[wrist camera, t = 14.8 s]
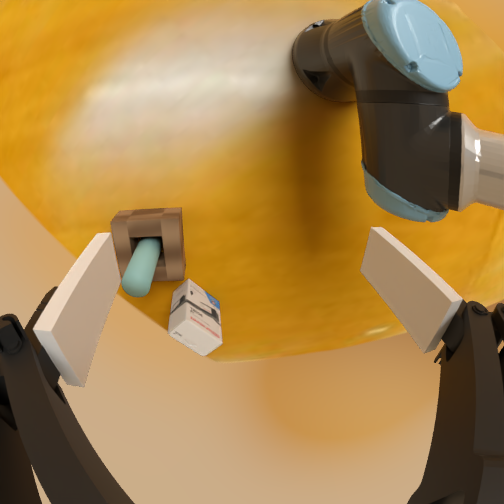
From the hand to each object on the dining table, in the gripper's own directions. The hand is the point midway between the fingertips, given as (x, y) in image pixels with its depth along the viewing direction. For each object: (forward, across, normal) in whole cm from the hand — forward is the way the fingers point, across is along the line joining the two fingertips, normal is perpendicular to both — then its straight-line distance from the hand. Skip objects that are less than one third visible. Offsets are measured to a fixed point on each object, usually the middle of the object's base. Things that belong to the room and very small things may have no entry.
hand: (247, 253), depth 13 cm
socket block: (+32, -12, -14) cm, 37 cm away
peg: (+32, -12, -14) cm, 37 cm away
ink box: (+32, -5, -27) cm, 42 cm away
